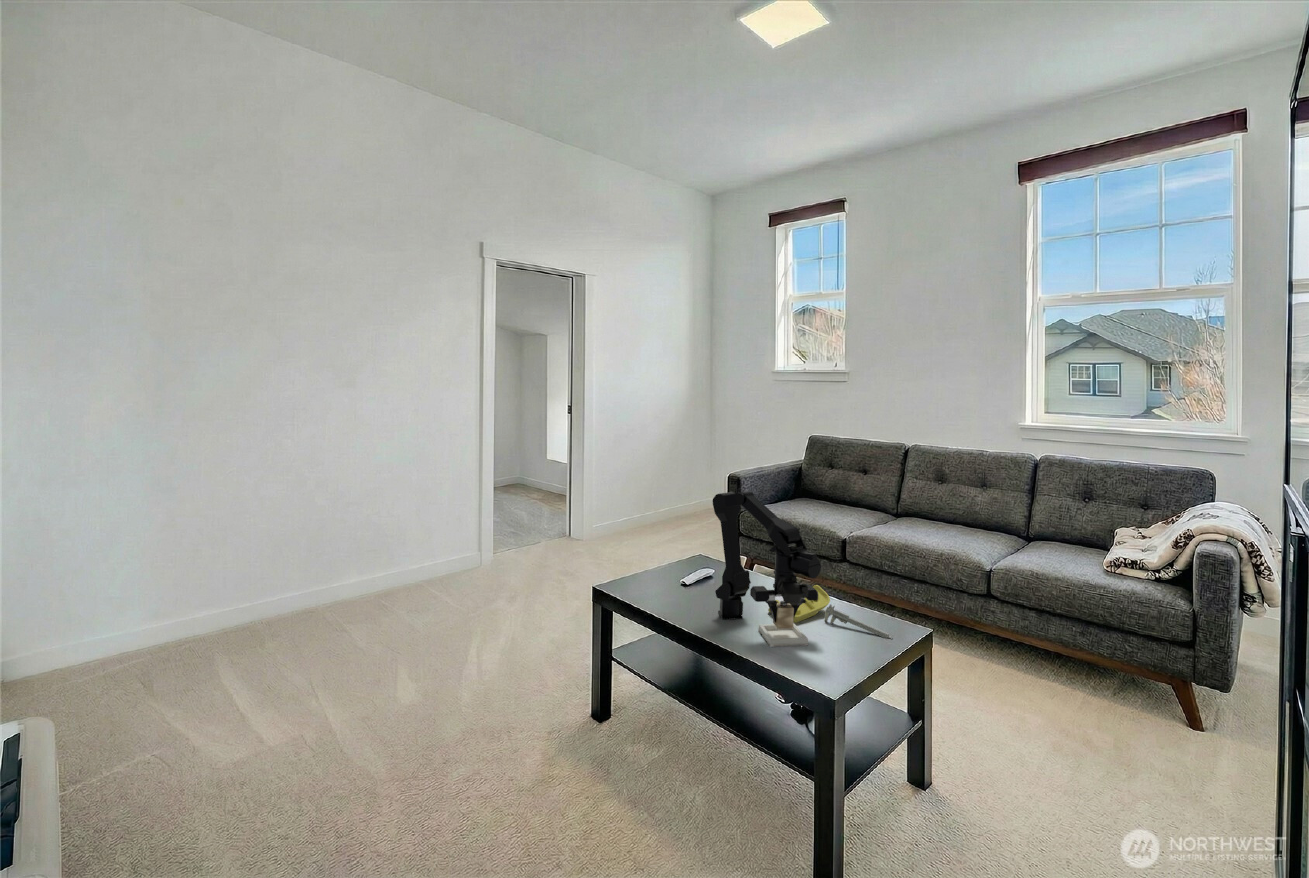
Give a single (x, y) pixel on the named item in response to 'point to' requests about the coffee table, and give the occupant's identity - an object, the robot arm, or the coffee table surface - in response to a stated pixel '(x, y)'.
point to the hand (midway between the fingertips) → (782, 621)
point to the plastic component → (811, 605)
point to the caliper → (851, 621)
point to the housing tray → (783, 636)
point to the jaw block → (784, 615)
